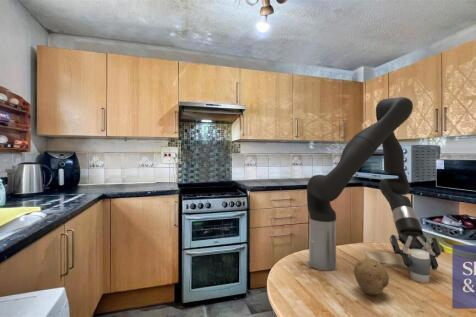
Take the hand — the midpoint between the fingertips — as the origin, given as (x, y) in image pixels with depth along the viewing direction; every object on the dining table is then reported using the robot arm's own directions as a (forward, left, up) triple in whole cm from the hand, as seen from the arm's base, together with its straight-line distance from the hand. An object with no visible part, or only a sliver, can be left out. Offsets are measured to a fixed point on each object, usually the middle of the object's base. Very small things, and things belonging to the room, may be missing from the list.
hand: (422, 267), depth 79 cm
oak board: (-2, +15, -4) cm, 16 cm away
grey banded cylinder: (0, +2, -4) cm, 5 cm away
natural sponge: (-18, -11, -5) cm, 22 cm away
